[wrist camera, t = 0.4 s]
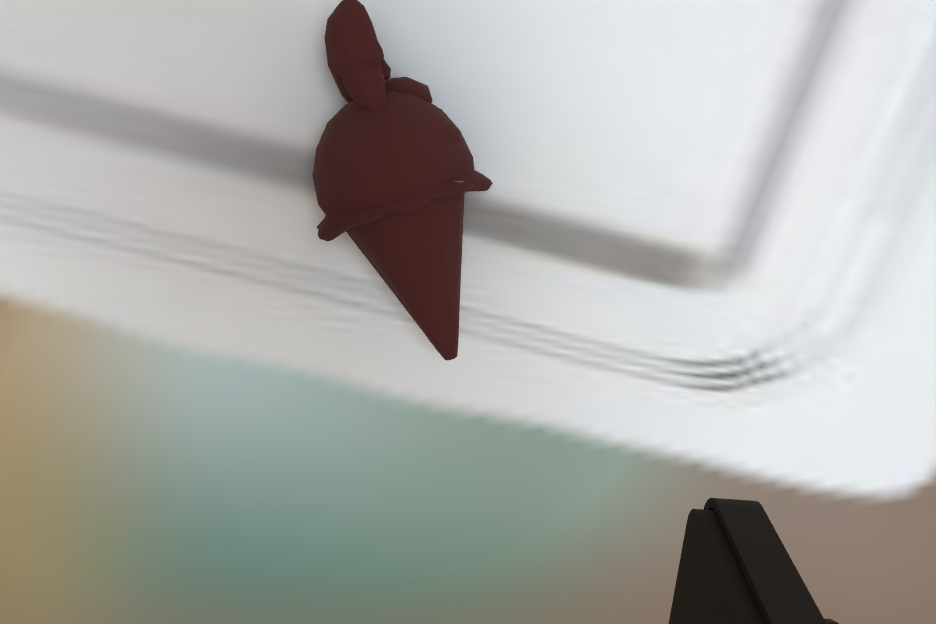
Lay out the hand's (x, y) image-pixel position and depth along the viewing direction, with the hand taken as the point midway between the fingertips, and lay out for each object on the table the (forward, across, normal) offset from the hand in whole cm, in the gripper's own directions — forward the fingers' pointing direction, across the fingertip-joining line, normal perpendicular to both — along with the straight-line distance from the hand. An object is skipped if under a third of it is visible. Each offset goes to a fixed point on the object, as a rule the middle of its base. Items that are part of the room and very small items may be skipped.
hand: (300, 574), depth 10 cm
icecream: (+30, +1, +1) cm, 30 cm away
